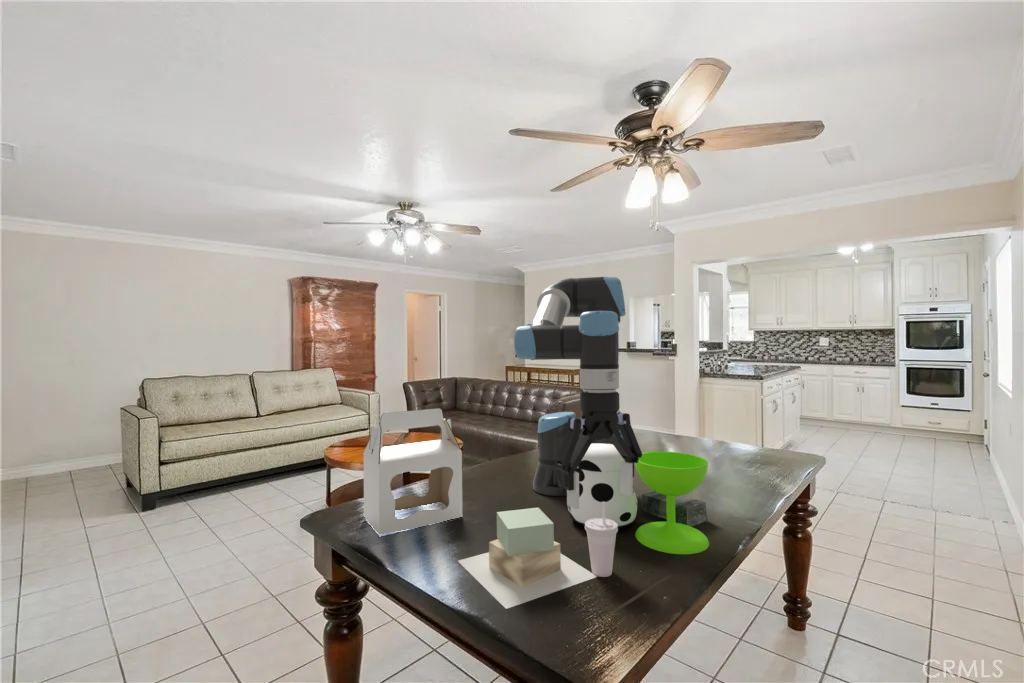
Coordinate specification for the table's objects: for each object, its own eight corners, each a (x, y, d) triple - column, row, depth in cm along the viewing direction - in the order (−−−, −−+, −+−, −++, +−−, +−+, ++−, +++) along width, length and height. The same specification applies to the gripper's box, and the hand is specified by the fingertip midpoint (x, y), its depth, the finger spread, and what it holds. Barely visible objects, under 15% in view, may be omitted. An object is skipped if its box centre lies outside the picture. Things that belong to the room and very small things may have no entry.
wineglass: (649, 519, 115) (648, 448, 115) (716, 534, 105) (715, 457, 105) (624, 542, 102) (623, 461, 102) (698, 561, 92) (697, 473, 93)
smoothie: (612, 585, 83) (611, 509, 83) (579, 576, 87) (578, 503, 87) (623, 570, 89) (622, 499, 89) (592, 563, 92) (591, 494, 92)
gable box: (442, 503, 129) (441, 404, 129) (463, 517, 117) (462, 409, 118) (362, 520, 116) (362, 411, 117) (378, 538, 105) (377, 417, 106)
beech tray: (489, 567, 90) (488, 542, 90) (526, 552, 96) (526, 528, 96) (522, 587, 82) (522, 559, 82) (560, 569, 89) (560, 543, 89)
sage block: (496, 536, 92) (496, 512, 93) (538, 531, 95) (538, 507, 95) (508, 556, 84) (508, 529, 84) (553, 549, 86) (553, 523, 86)
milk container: (650, 520, 114) (649, 449, 114) (612, 542, 102) (611, 462, 102) (593, 504, 126) (593, 439, 127) (553, 521, 114) (552, 450, 114)
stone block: (664, 505, 126) (664, 486, 126) (710, 522, 113) (710, 501, 113) (641, 511, 121) (641, 492, 121) (687, 529, 109) (687, 508, 109)
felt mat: (457, 562, 93) (457, 560, 93) (538, 540, 103) (538, 538, 103) (506, 611, 76) (506, 608, 76) (597, 578, 86) (597, 576, 86)
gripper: (559, 395, 78) (560, 519, 78) (659, 388, 91) (660, 494, 91) (535, 392, 85) (536, 506, 84) (631, 386, 98) (633, 485, 97)
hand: (600, 500), depth 88 cm, fingers open, 13 cm apart
